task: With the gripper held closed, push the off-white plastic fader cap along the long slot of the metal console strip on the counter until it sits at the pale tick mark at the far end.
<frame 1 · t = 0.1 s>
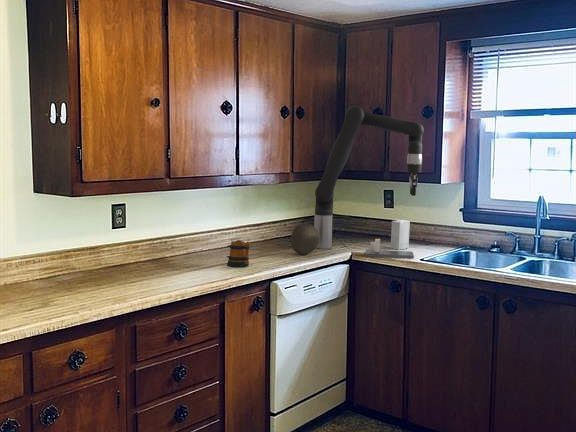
hand: (412, 194, 325), 29 cm above the worktop, fingers open, 8 cm apart
console: (389, 255, 316), on the worktop
fader: (377, 245, 315), point 5 cm above the worktop, slide at 0.0 cm
cantaloupe: (304, 255, 312), on the worktop
skincare box: (399, 249, 337), on the worktop
mug: (239, 266, 281), on the worktop
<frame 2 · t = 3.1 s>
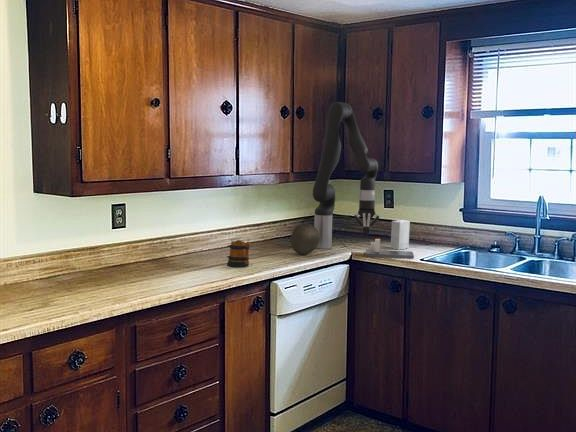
hand: (366, 234, 315), 10 cm above the worktop, fingers closed
nothing on the worktop moved.
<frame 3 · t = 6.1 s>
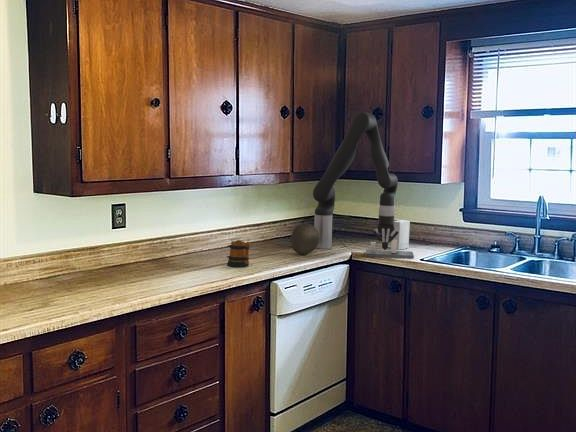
hand: (384, 249, 315), 3 cm above the worktop, fingers closed
fader: (393, 246, 314), point 5 cm above the worktop, slide at 8.1 cm, touching hand
everything else where it was.
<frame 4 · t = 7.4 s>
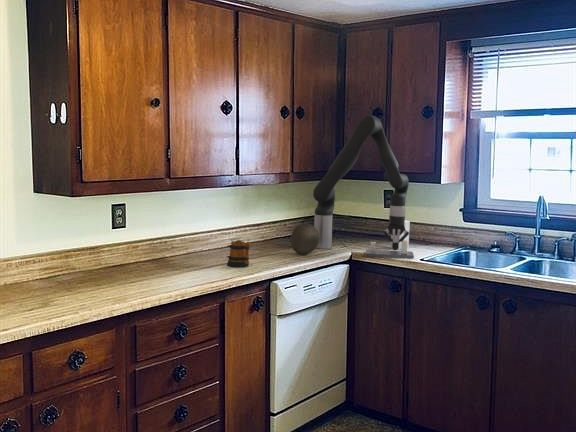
hand: (395, 249, 314), 3 cm above the worktop, fingers closed
fader: (404, 246, 313), point 5 cm above the worktop, slide at 13.1 cm, touching hand
everything else where it was.
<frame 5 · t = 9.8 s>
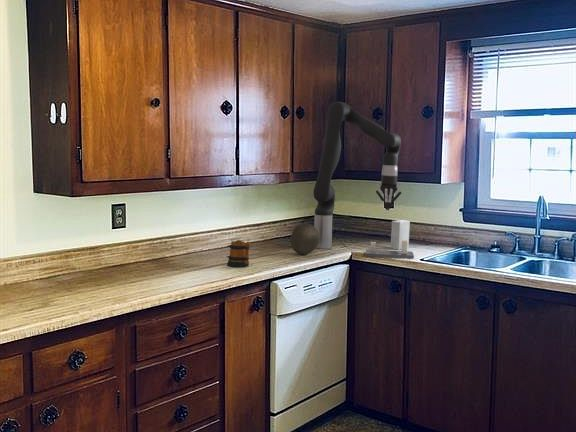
hand: (387, 209, 314), 23 cm above the worktop, fingers closed
fader: (404, 246, 313), point 5 cm above the worktop, slide at 13.0 cm
everything else where it was.
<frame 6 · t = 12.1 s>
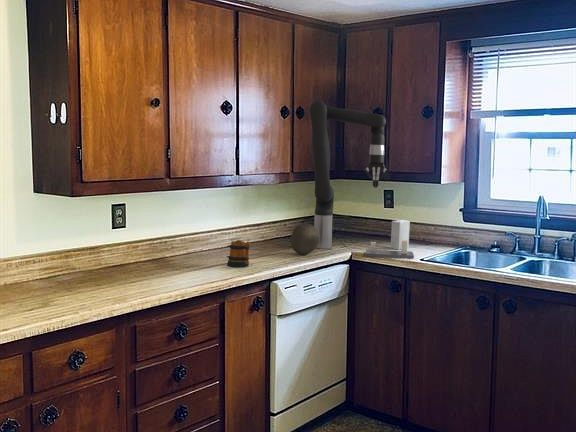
hand: (375, 187, 331), 32 cm above the worktop, fingers closed
nothing on the worktop moved.
at the end: fader slide at 13.0 cm; the gripper is holding nothing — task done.
